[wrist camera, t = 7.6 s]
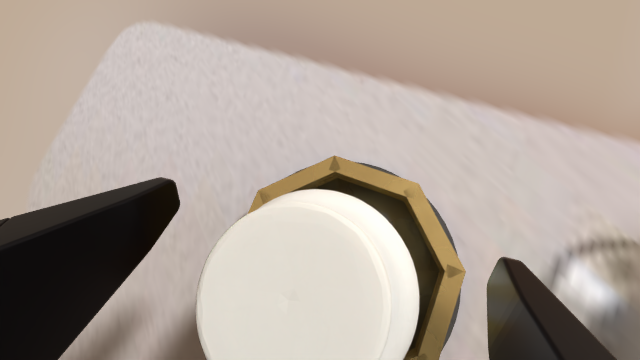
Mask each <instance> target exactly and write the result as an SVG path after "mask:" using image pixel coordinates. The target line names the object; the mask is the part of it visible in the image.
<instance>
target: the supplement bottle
mask: <svg viewBox="0 0 640 360" xmlns="http://www.w3.org/2000/svg"><path fill="white" fill-rule="evenodd" d="M418 314H419V286H418V280H417V274H416V270H415V267H414V263H413V261H412V258H411V256H410V253H409V251H408V249H407V247H406V245H405V244H404V242H403V240H402V238H401V237H400V235H399V234H398V233H397V231H396V230H395V229H394V227H393V226H392V225H391V224H390V223H389V222H388V220H387V219H386V218H385V217H384V216H383V215H381V214H380V213H379V212H378V211H377V210H375V209H374V208H373V207H371V206H370V205H368V204H366V203H365V202H363V201H361V200H359V199H357V198H355V197H353V196H350V195H347V194H344V193H341V192H337V191H332V190H322V189H308V190H300V191H295V192H291V193H287V194H285V195H282V196H280V197H277V198H275V199H273V200H271V201H269V202H268V203H266V204H264V205H263V206H261V207H260V208H258V209H257V210H255V211H253V212H251V213H249V214H247V215H246V216H244V217H243V218H241V219H240V220H239V221H237V222H236V223H235V224H233V225H232V226H231V227H230V228H229V229H228V230H227V231H226V232H225V233H224V234H223V235H222V237H221V238H220V239H219V240H218V242H217V243H216V245H215V246H214V248H213V249H212V251H211V252H210V254H209V256H208V258H207V260H206V262H205V265H204V268H203V270H202V273H201V276H200V279H199V283H198V289H197V294H196V325H197V331H198V336H199V340H200V343H201V346H202V349H203V352H204V354H205V357H206V359H207V360H403V359H404V357H405V355H406V353H407V351H408V349H409V347H410V345H411V343H412V340H413V337H414V333H415V330H416V326H417V321H418Z"/></svg>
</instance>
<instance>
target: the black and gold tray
mask: <svg viewBox="0 0 640 360" xmlns="http://www.w3.org/2000/svg"><path fill="white" fill-rule="evenodd" d="M308 189H322V190H332V191H337V192H341V193H344V194H347V195H350V196H353V197H355V198H357V199H359V200H361V201H363V202H365V203H366V204H368V205H370V206H371V207H373V208H374V209H375V210H377V211H378V212H379V213H380V214H381V215H383V216H384V217H385V218H386V219H387V220H388V222H389V223H390V224H391V225H392V226H393V227H394V229H395V230H396V231H397V233H398V234H399V235H400V237H401V238H402V240H403V242H404V244H405V245H406V247H407V249H408V251H409V253H410V256H411V258H412V261H413V263H414V267H415V270H416V274H417V280H418V286H419V314H418V321H417V326H416V330H415V333H414V337H413V340H412V343H411V345H410V347H409V349H408V351H407V353H406V355H405V357H404V359H403V360H439V357H440V354H441V351H442V349H443V348H444V346H445V344H446V342H447V341H448V339H449V337H450V334H451V332H452V329H453V327H454V324H455V321H456V317H457V313H458V309H459V304H460V293H461V285H462V282H463V279H464V276H465V272H466V271H465V269H464V267H463V266H462V264H461V262H460V260H459V258H458V255H457V252H456V249H455V246H454V242H453V239H452V237H451V235H450V233H449V230H448V228H447V226H446V224H445V222H444V221H443V219H442V218H441V216H440V214H439V213H438V211H437V210H436V209H435V208H434V206H433V205H432V204H431V203H430V201H429V200H428V199H427V198H426V197H425V195H424V193H423V191H422V189H421V187H420V185H419V184H418V183H415V182H412V181H409V180H406V179H403V178H401V177H399V176H397V175H395V174H393V173H392V172H389V171H387V170H384V169H382V168H379V167H376V166H372V165H368V164H364V163H357V162H352V161H349V160H346V159H343V158H340V157H337V156H333V157H331V158H328V159H326V160H324V161H322V162H320V163H317V164H315V165H313V166H310V167H308V168H305V169H303V170H300V171H298V172H296V173H294V174H292V175H290V176H288V177H286V178H284V179H282V180H280V181H278V182H276V183H273V184H271V185H269V186H267V187H265V188H262V189H260V190H258V192H257V194H256V196H255V199H254V201H253V203H252V205H251V208H250V210H249V212H248V214H249V213H251V212H253V211H255V210H257V209H258V208H260V207H261V206H263V205H264V204H266V203H268V202H269V201H271V200H273V199H275V198H277V197H280V196H282V195H285V194H287V193H291V192H295V191H300V190H308Z"/></svg>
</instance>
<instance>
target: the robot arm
mask: <svg viewBox="0 0 640 360" xmlns="http://www.w3.org/2000/svg"><path fill="white" fill-rule="evenodd" d="M179 207H180V200H179V195H178V191H177V186H176V183H175V182H174V181H173V180H171V179H167V178H162V177H159V178H155V179H152V180H148V181H144V182H140V183H137V184H133V185H129V186H126V187H122V188H118V189H114V190H111V191H107V192H103V193H99V194H96V195H92V196H88V197H84V198H81V199H77V200H73V201H70V202H66V203H62V204H58V205H55V206H51V207H47V208H43V209H40V210H36V211H32V212H29V213H25V214H21V215H17V216H14V217H11V218H6V219H2V220H0V360H58V359H59V358H60V357H61V355H62V354H63V353H64V352H65V351H66V349H67V348H68V347H69V346H70V345H71V344H72V342H73V341H74V340H75V339H76V338H77V336H78V335H79V334H80V333H81V332H82V331H83V329H84V328H85V327H86V326H87V325H88V323H89V322H90V321H91V320H92V319H93V318H94V316H95V315H96V314H97V313H98V312H99V310H100V309H101V308H102V307H103V306H104V305H105V303H106V302H107V301H108V300H109V299H110V297H111V296H112V295H113V294H114V293H115V292H116V290H117V289H118V288H119V287H120V286H121V284H122V283H123V282H124V281H125V280H126V279H127V277H128V276H129V275H130V274H131V273H132V271H133V270H134V269H135V268H136V267H137V266H138V264H139V263H140V262H141V261H142V260H143V258H144V257H145V256H146V255H147V254H148V252H149V251H150V250H151V248H152V247H153V246H154V244H155V243H156V241H157V240H158V239H159V237H160V236H161V234H162V233H163V231H164V230H165V228H166V227H167V226H168V224H169V223H170V221H171V220H172V218H173V217H174V216H175V214H176V213H177V211H178V209H179ZM487 322H488V351H489V359H490V360H617V359H616V358H615V357H614V356H613V355H612V354H611V353H610V352H609V350H608V349H607V348H606V347H605V346H604V345H603V344H602V343H601V342H600V341H599V340H598V339H597V338H596V337H595V336H594V335H593V334H592V333H591V332H590V331H589V330H588V329H587V328H586V327H585V326H584V325H583V324H582V323H581V322H580V321H579V320H578V319H577V318H576V317H575V316H574V315H573V314H572V313H571V312H570V311H569V310H568V308H567V307H566V306H565V305H564V304H563V303H562V302H561V301H560V300H559V299H558V298H557V297H556V296H555V295H554V294H553V293H552V292H551V291H550V290H549V289H548V288H547V287H546V286H545V285H544V284H543V283H542V282H541V281H540V280H539V279H538V278H537V277H536V276H535V275H534V274H533V273H532V272H531V271H530V270H529V269H528V268H527V266H526V265H525V264H524V263H522V262H521V261H519V260H515V259H511V258H507V257H502V258H500V259H499V260H498V262H497V264H496V266H495V268H494V270H493V272H492V274H491V276H490V278H489V280H488V283H487Z"/></svg>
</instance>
